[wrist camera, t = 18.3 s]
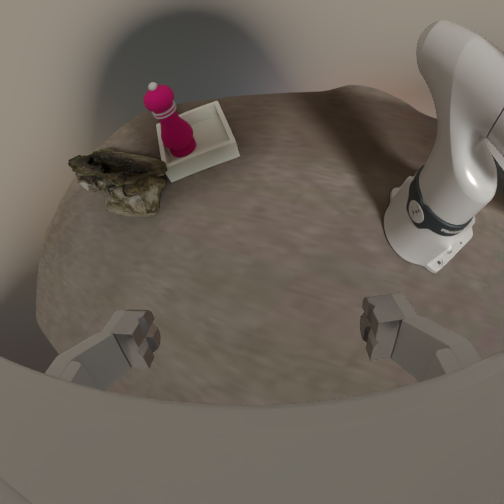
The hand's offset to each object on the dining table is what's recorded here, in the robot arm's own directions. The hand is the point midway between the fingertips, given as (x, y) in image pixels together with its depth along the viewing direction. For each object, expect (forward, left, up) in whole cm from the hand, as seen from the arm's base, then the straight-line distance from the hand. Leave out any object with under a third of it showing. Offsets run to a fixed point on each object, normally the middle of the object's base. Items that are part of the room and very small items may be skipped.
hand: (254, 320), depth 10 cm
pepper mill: (+6, -46, -35) cm, 58 cm away
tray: (+3, -46, -35) cm, 58 cm away
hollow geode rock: (+22, -42, -36) cm, 59 cm away
